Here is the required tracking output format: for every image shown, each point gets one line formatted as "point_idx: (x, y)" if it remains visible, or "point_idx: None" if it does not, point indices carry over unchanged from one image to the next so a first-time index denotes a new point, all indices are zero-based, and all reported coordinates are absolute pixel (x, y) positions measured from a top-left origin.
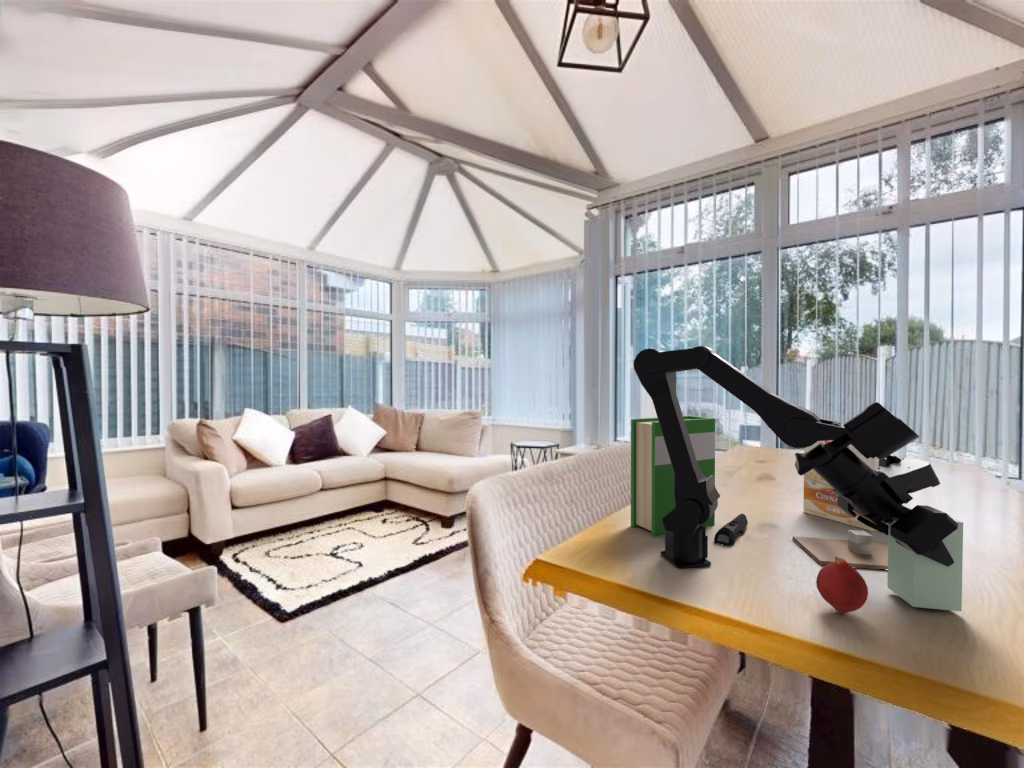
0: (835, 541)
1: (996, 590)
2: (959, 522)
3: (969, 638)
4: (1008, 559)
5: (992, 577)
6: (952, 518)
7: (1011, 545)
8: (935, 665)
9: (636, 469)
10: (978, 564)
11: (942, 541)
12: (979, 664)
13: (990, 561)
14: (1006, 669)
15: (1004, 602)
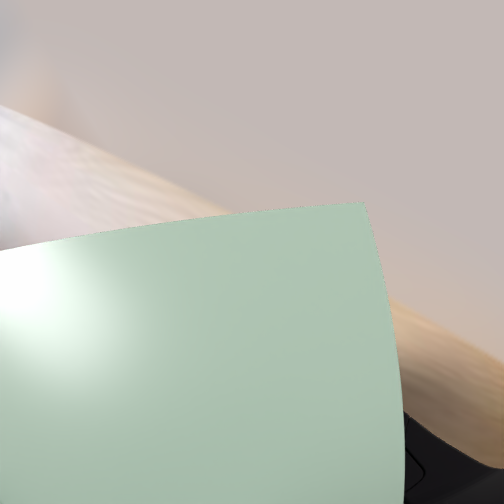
0: None
1: (144, 196)
2: (367, 235)
3: (406, 379)
4: (56, 136)
5: (98, 177)
6: (223, 230)
7: (33, 122)
8: (495, 459)
9: None
10: (59, 175)
11: (431, 433)
12: (483, 398)
13: (55, 156)
14: (485, 363)
15: (196, 211)
